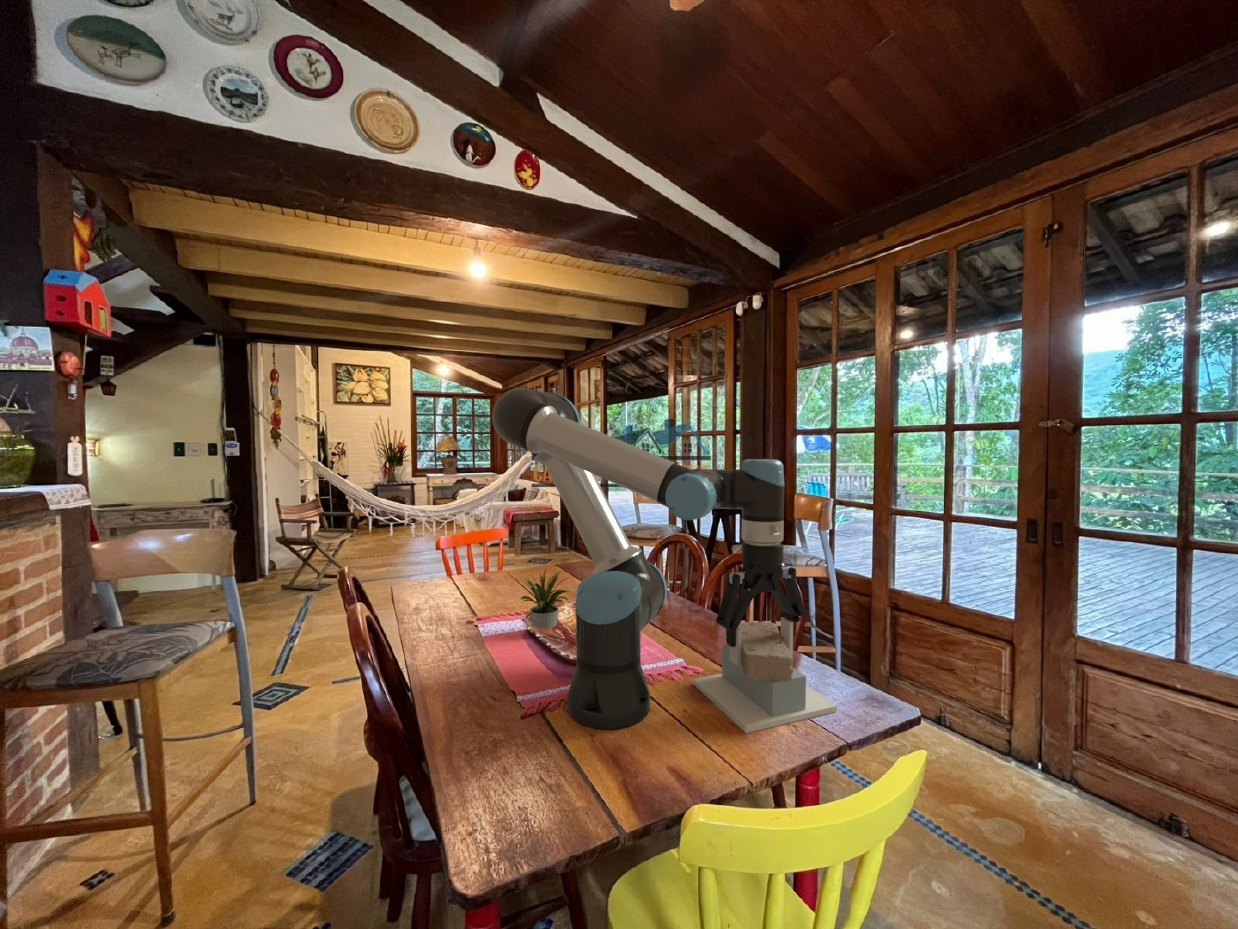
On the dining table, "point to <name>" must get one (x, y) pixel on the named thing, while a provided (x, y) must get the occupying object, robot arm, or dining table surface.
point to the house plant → (545, 602)
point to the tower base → (751, 709)
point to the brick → (764, 652)
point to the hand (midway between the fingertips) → (761, 658)
